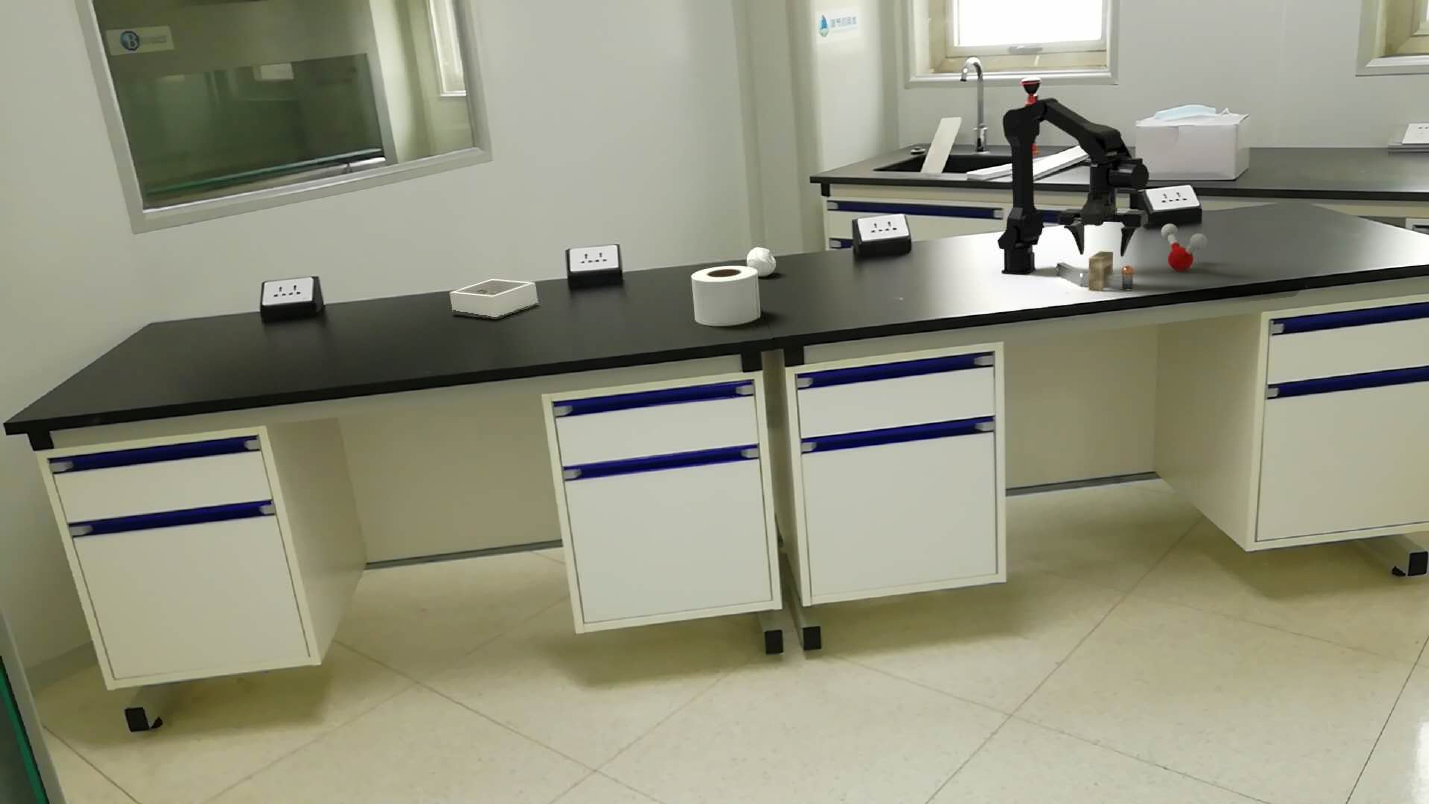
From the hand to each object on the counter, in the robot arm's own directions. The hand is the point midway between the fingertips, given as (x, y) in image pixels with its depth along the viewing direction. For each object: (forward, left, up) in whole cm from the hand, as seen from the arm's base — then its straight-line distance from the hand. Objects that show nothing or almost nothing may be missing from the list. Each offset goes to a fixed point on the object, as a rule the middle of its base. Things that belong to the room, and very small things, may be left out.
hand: (1101, 255), depth 265 cm
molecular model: (+12, +20, -8) cm, 25 cm away
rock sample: (-135, -64, -8) cm, 150 cm away
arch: (0, 0, -8) cm, 8 cm away
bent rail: (-3, +4, -7) cm, 9 cm away
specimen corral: (-136, -62, -7) cm, 150 cm away
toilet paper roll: (-71, -49, -8) cm, 87 cm away
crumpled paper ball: (-87, -11, -8) cm, 88 cm away
